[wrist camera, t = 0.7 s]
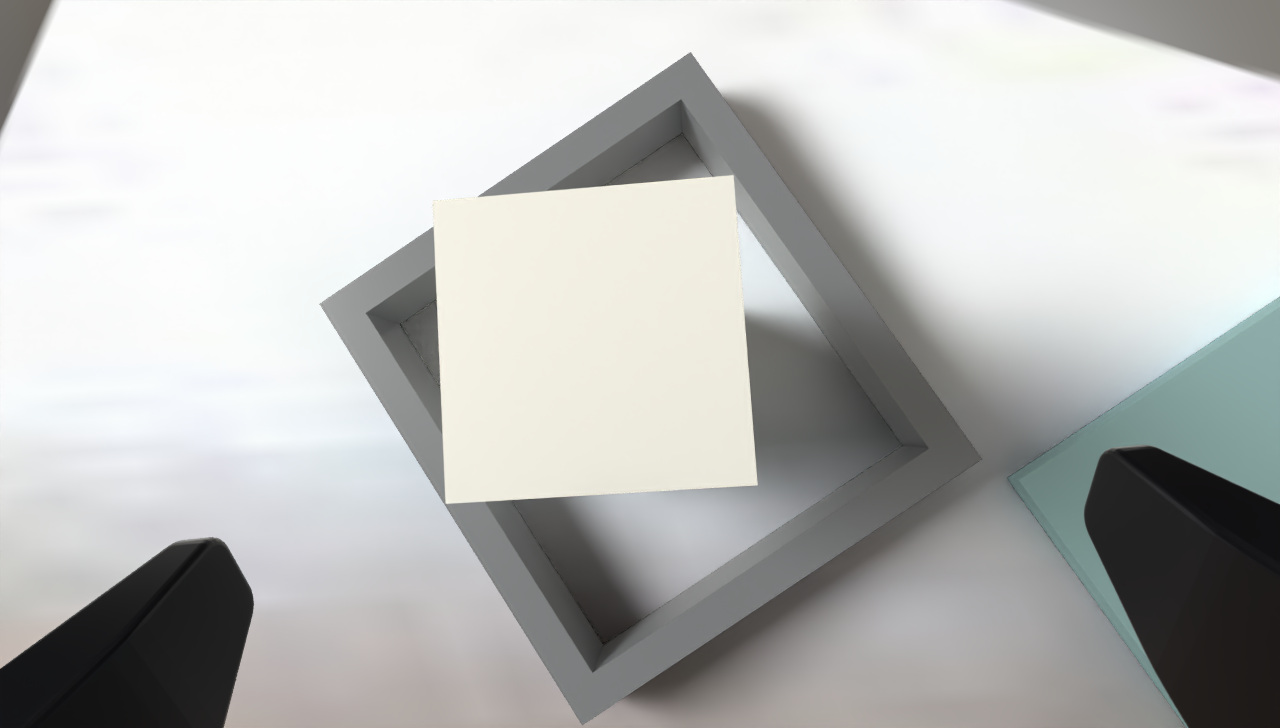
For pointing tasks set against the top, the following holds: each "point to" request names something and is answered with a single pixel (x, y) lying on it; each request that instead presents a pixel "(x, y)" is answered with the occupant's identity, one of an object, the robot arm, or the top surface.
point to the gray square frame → (819, 282)
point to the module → (593, 342)
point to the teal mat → (1169, 446)
